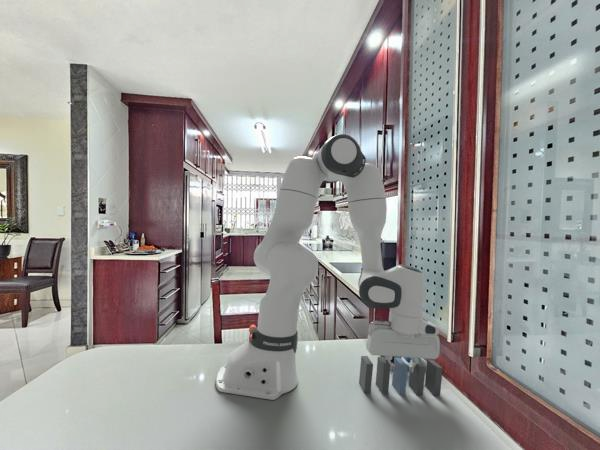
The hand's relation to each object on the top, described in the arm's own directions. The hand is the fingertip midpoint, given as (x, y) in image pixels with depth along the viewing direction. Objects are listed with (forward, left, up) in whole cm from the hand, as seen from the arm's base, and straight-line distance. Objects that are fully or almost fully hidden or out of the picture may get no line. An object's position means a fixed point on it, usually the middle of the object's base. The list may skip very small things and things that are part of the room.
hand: (400, 371), depth 83 cm
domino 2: (-5, 0, -5) cm, 7 cm away
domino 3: (0, 0, -5) cm, 5 cm away
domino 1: (-10, 0, -5) cm, 11 cm away
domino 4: (+5, 0, -5) cm, 8 cm away
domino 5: (+10, 0, -5) cm, 12 cm away
